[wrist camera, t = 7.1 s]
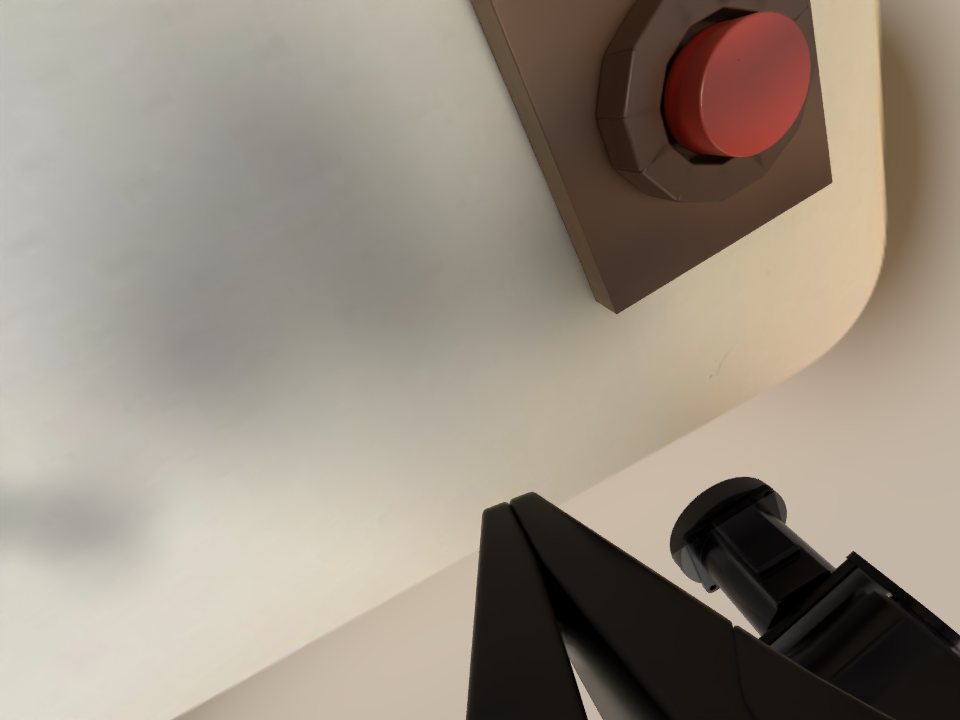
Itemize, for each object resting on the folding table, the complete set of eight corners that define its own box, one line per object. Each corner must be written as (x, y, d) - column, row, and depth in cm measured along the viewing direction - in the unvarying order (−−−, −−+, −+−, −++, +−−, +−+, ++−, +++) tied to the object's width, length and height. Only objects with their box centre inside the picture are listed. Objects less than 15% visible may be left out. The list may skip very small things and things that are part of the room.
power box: (797, 178, 21) (876, 187, 18) (596, 301, 21) (641, 331, 18) (740, -182, 16) (842, -258, 12) (462, -17, 15) (496, -53, 12)
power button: (773, 118, 17) (819, 118, 15) (680, 175, 16) (716, 180, 15) (752, -2, 15) (801, -17, 13) (648, 61, 15) (685, 53, 13)
